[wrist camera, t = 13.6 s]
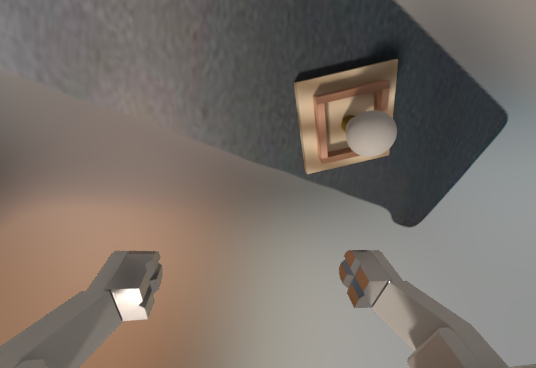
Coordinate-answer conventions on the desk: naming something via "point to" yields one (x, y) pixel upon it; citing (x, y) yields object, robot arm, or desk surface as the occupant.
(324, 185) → the desk surface
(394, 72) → the docking base
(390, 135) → the light bulb
